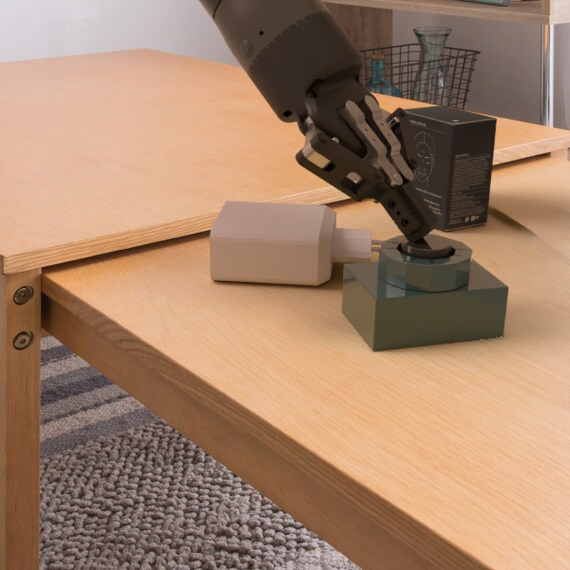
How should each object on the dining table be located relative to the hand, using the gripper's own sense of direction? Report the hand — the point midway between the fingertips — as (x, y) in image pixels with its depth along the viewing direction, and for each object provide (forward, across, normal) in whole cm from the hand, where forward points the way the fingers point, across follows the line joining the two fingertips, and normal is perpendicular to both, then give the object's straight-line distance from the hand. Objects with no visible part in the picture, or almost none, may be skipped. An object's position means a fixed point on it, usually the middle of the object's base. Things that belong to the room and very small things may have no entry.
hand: (426, 233), depth 66 cm
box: (-2, +24, +12) cm, 27 cm away
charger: (-4, +4, +14) cm, 16 cm away
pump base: (+5, 0, +5) cm, 7 cm away
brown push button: (+2, 0, +2) cm, 3 cm away
